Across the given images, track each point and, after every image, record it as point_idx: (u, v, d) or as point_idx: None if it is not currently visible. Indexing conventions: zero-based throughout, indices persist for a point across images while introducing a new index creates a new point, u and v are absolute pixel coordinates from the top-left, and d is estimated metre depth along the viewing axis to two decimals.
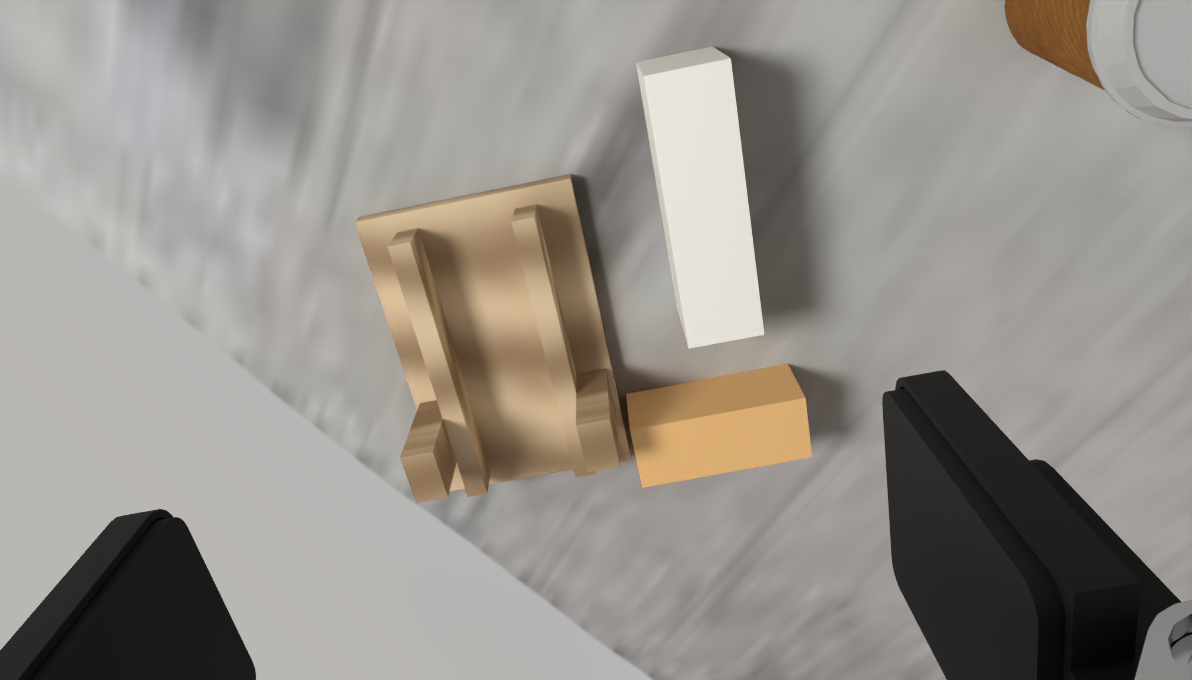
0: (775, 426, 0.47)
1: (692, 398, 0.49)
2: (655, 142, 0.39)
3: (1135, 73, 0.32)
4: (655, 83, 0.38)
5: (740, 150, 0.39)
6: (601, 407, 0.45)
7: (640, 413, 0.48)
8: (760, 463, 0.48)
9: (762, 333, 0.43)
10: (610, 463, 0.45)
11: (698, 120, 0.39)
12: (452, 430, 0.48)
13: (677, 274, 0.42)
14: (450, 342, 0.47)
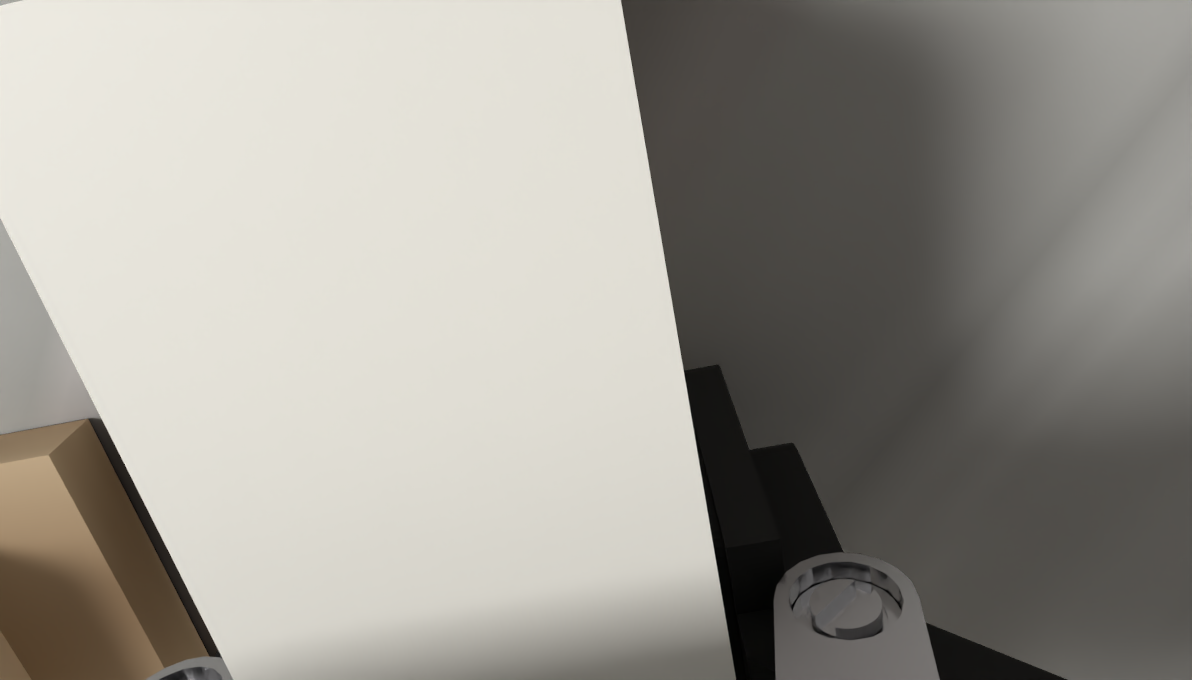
0: None
1: None
2: (139, 473, 0.06)
3: None
4: (18, 86, 0.05)
5: (698, 515, 0.06)
6: None
7: None
8: None
9: None
10: None
11: (396, 344, 0.06)
12: None
13: None
14: None
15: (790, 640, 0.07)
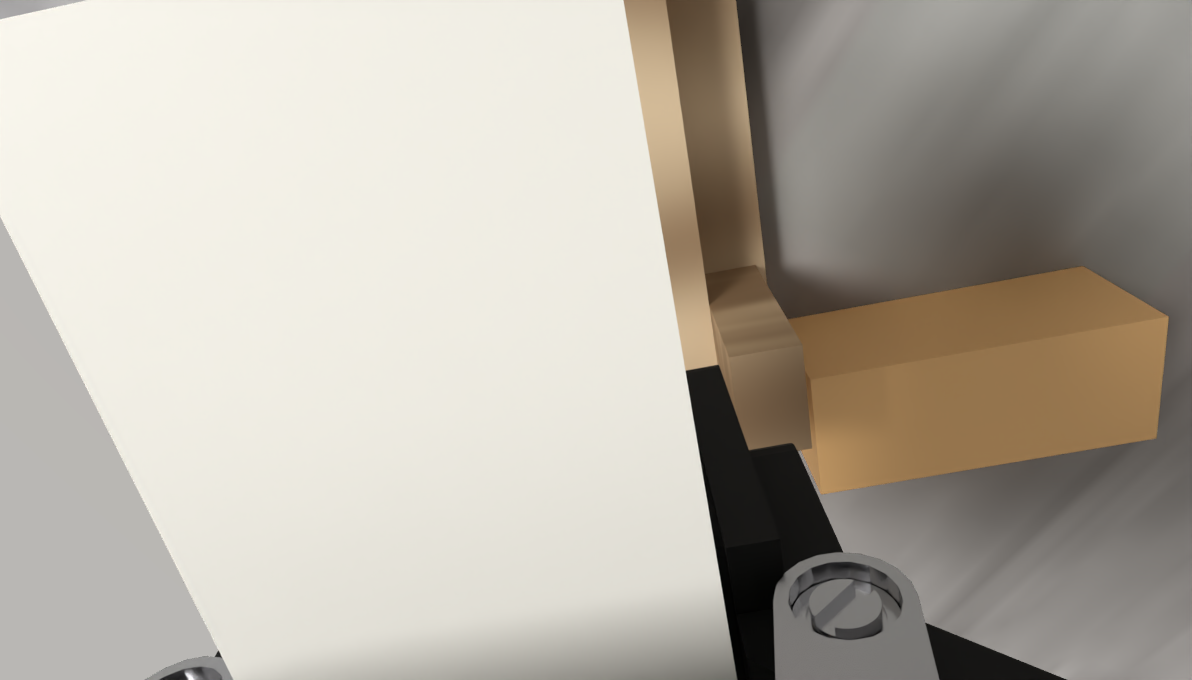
0: (1097, 375, 0.24)
1: (918, 324, 0.25)
2: (143, 481, 0.06)
3: None
4: (24, 98, 0.05)
5: (701, 523, 0.06)
6: (774, 325, 0.21)
7: (820, 351, 0.25)
8: (1054, 448, 0.25)
9: None
10: (793, 441, 0.21)
11: (401, 353, 0.06)
12: None
13: None
14: None
15: (790, 639, 0.07)
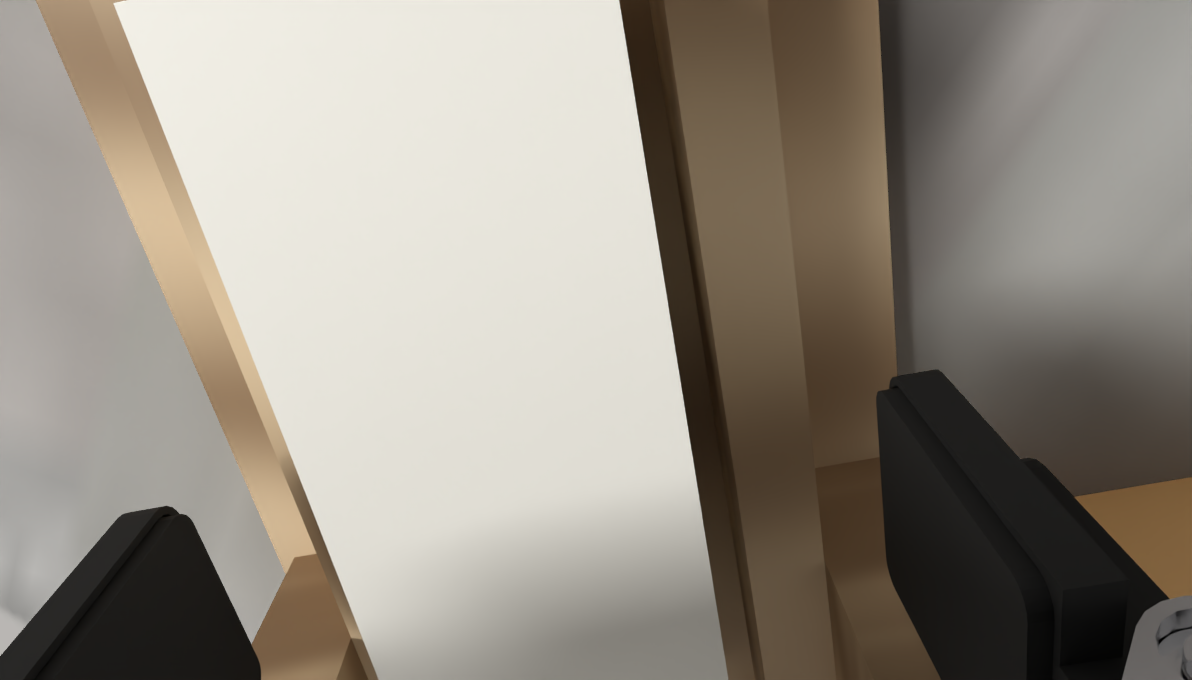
0: None
1: (1159, 559, 0.15)
2: (253, 343, 0.08)
3: None
4: (189, 46, 0.07)
5: (673, 381, 0.08)
6: None
7: None
8: None
9: None
10: None
11: (451, 242, 0.07)
12: None
13: None
14: None
15: None
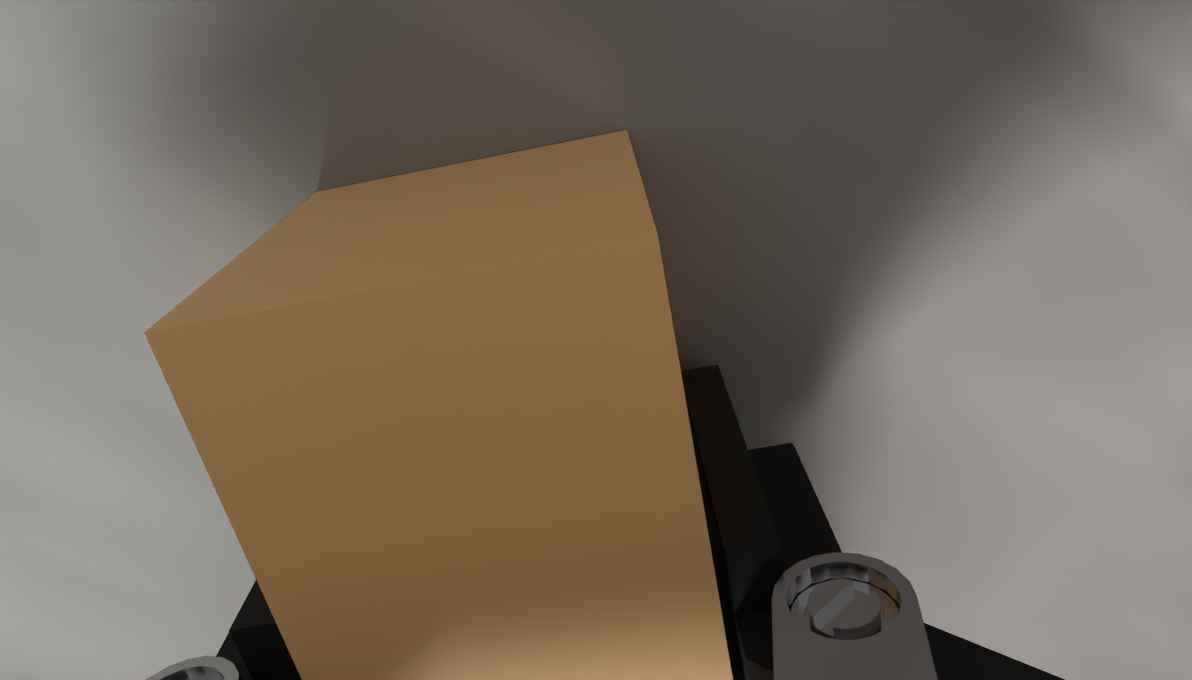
0: (401, 498, 0.07)
1: None
2: None
3: None
4: None
5: None
6: None
7: None
8: (685, 561, 0.07)
9: None
10: None
11: None
12: None
13: None
14: None
15: (788, 640, 0.07)
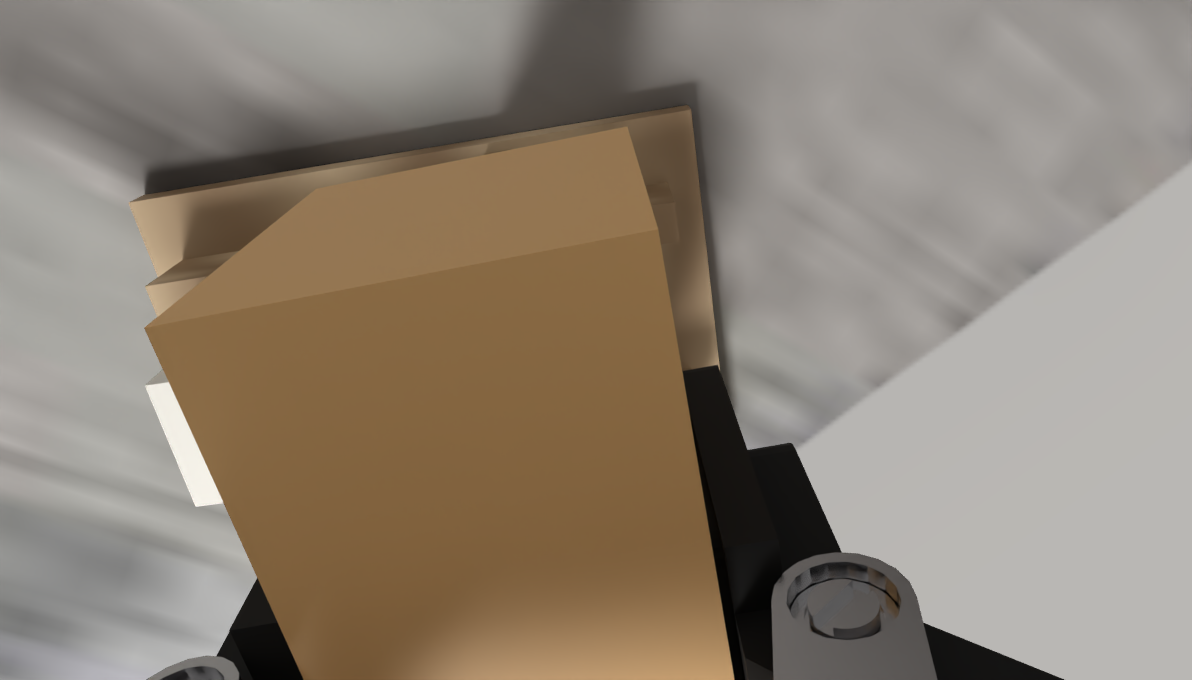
0: (402, 493, 0.07)
1: None
2: None
3: None
4: (204, 491, 0.24)
5: None
6: None
7: None
8: (686, 558, 0.07)
9: None
10: None
11: None
12: None
13: None
14: None
15: (787, 640, 0.07)
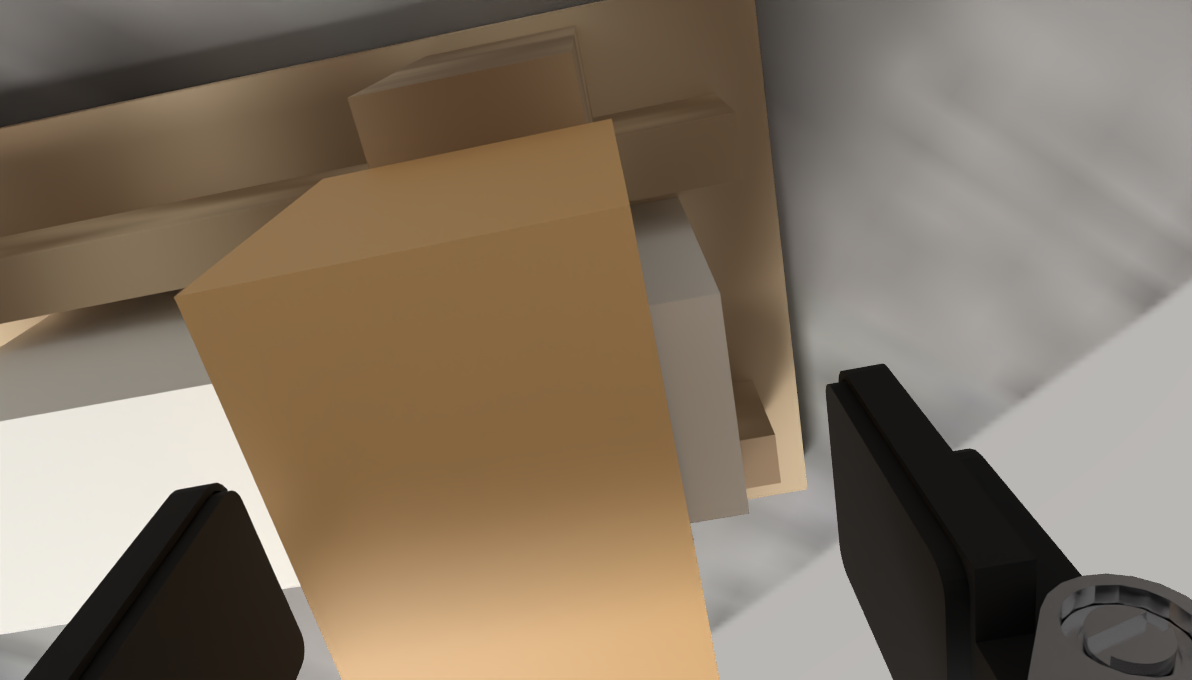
0: (403, 447, 0.08)
1: None
2: None
3: None
4: None
5: (95, 408, 0.13)
6: None
7: None
8: (661, 505, 0.08)
9: (715, 299, 0.12)
10: (556, 93, 0.11)
11: (39, 519, 0.14)
12: None
13: None
14: None
15: (1081, 677, 0.06)
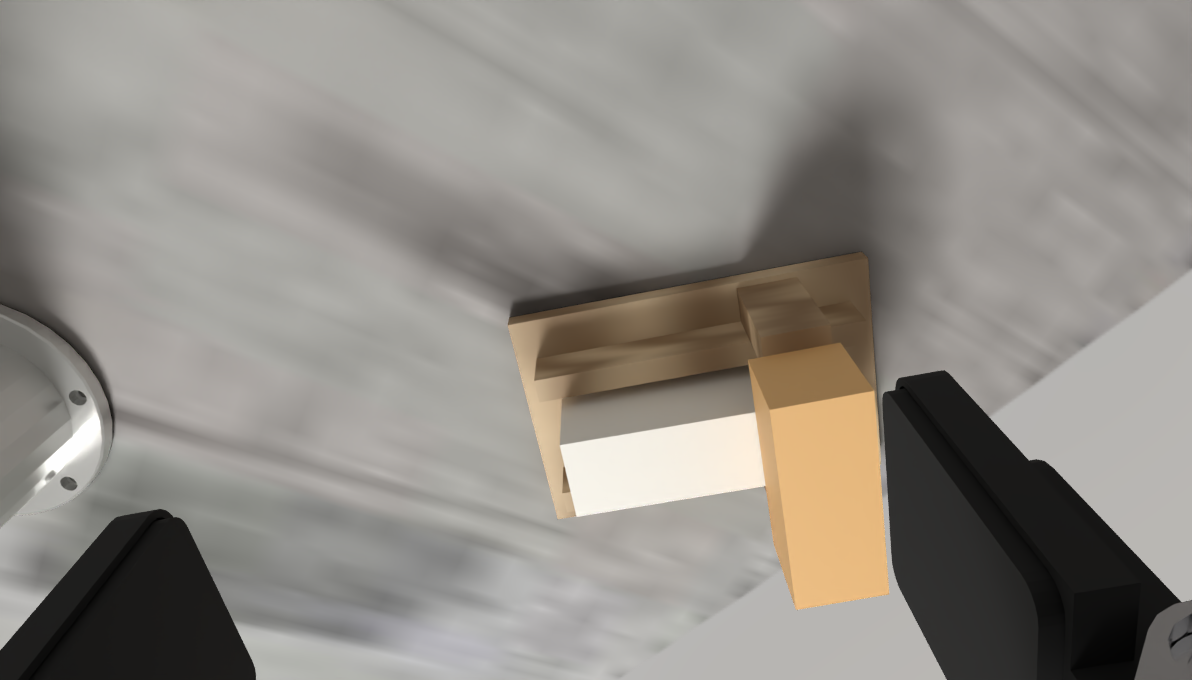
0: (813, 444, 0.32)
1: (774, 505, 0.36)
2: (640, 505, 0.39)
3: None
4: (583, 507, 0.39)
5: (651, 431, 0.37)
6: (755, 332, 0.37)
7: (785, 572, 0.37)
8: (873, 458, 0.33)
9: None
10: (824, 335, 0.35)
11: (619, 470, 0.38)
12: None
13: None
14: None
15: None
